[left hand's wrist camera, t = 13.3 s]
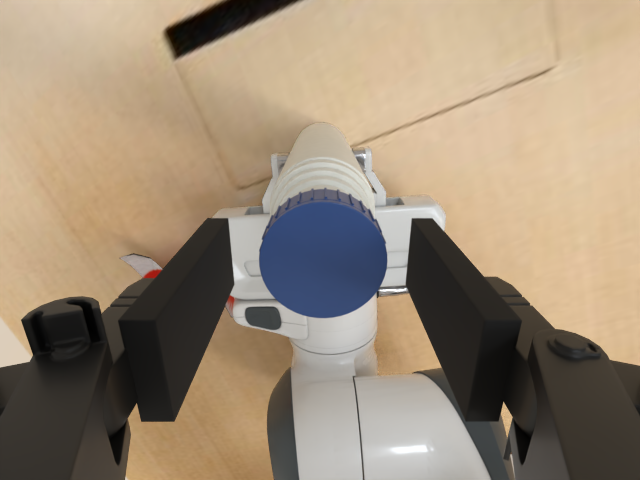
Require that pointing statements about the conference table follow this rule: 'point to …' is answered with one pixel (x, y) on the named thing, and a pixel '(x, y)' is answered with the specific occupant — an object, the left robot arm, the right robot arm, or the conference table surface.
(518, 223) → the conference table surface
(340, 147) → the bottle
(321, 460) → the right robot arm
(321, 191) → the cap
